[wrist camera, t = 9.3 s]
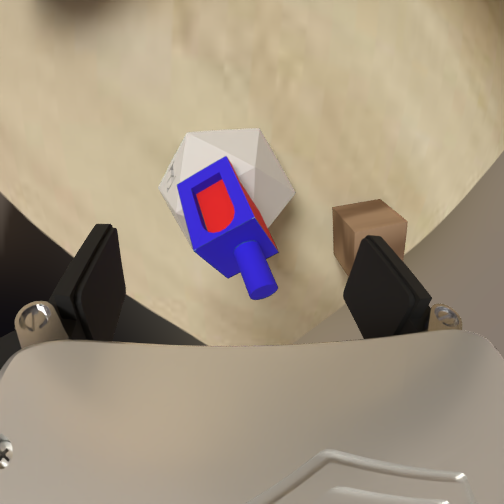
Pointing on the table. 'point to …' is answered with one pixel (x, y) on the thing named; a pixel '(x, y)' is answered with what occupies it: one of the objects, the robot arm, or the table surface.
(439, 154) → the table surface
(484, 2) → the table surface
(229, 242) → the toy building block
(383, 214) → the walnut cube
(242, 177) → the die
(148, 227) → the table surface
